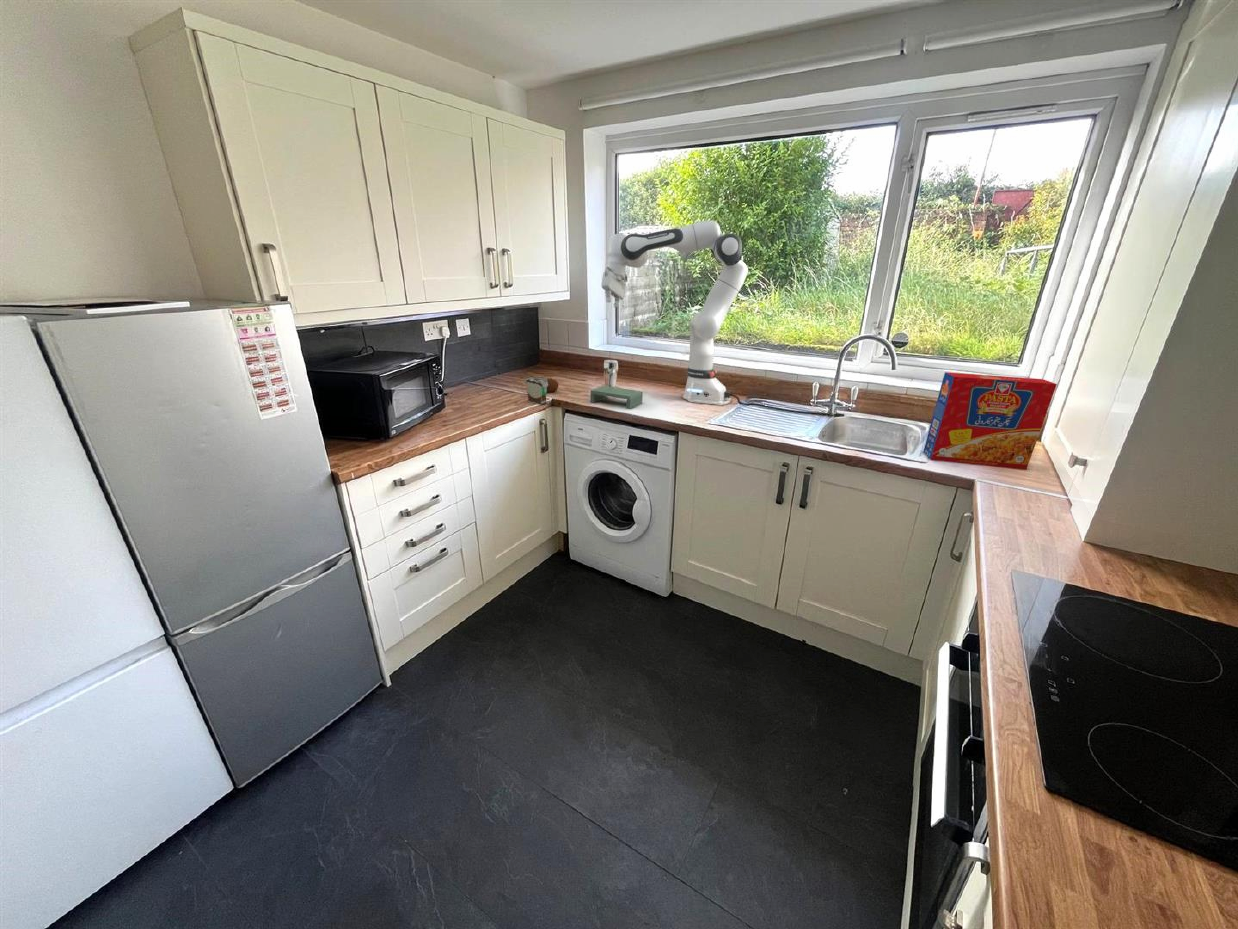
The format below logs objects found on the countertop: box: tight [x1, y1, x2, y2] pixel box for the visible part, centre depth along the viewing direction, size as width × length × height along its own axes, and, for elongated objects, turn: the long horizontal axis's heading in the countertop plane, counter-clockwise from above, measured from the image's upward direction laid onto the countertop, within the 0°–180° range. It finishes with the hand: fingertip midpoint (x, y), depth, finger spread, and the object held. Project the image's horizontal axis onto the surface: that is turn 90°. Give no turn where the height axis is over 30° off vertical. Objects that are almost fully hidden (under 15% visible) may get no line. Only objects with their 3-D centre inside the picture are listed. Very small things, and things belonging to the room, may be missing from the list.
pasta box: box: [922, 371, 1058, 471], centre depth 162 cm, size 28×8×28 cm, turn 76°
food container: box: [525, 377, 548, 406], centre depth 218 cm, size 12×6×10 cm, turn 46°
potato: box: [545, 378, 559, 393], centre depth 238 cm, size 6×12×6 cm, turn 151°
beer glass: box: [603, 359, 619, 387], centre depth 240 cm, size 7×7×15 cm
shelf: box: [589, 385, 644, 410], centre depth 222 cm, size 20×12×6 cm, turn 61°
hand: (612, 304), depth 221 cm, fingers open, 8 cm apart
